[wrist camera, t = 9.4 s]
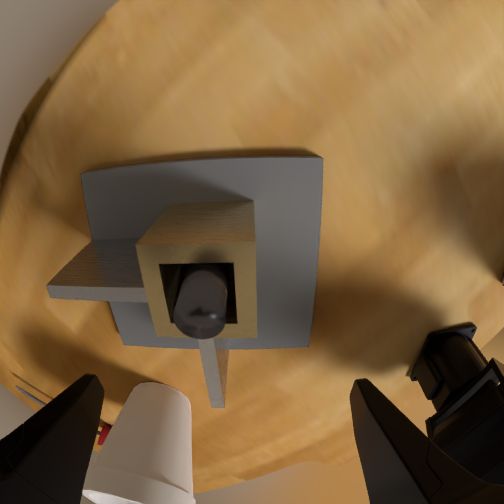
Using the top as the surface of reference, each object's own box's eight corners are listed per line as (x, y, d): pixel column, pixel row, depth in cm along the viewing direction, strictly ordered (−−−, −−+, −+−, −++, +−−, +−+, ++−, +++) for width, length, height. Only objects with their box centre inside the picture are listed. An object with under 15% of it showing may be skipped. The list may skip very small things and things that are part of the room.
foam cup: (182, 366, 25) (154, 501, 13) (219, 420, 28) (211, 528, 17) (102, 375, 26) (59, 481, 14) (146, 424, 29) (124, 517, 18)
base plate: (319, 156, 17) (323, 158, 16) (307, 338, 23) (309, 346, 22) (87, 170, 17) (80, 173, 16) (127, 337, 23) (123, 344, 22)
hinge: (254, 200, 17) (255, 241, 12) (257, 344, 22) (258, 407, 17) (86, 210, 17) (34, 248, 12) (122, 340, 22) (97, 395, 17)
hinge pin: (227, 219, 18) (219, 294, 10) (233, 249, 19) (230, 336, 11) (194, 224, 18) (166, 301, 11) (202, 254, 19) (181, 341, 11)
